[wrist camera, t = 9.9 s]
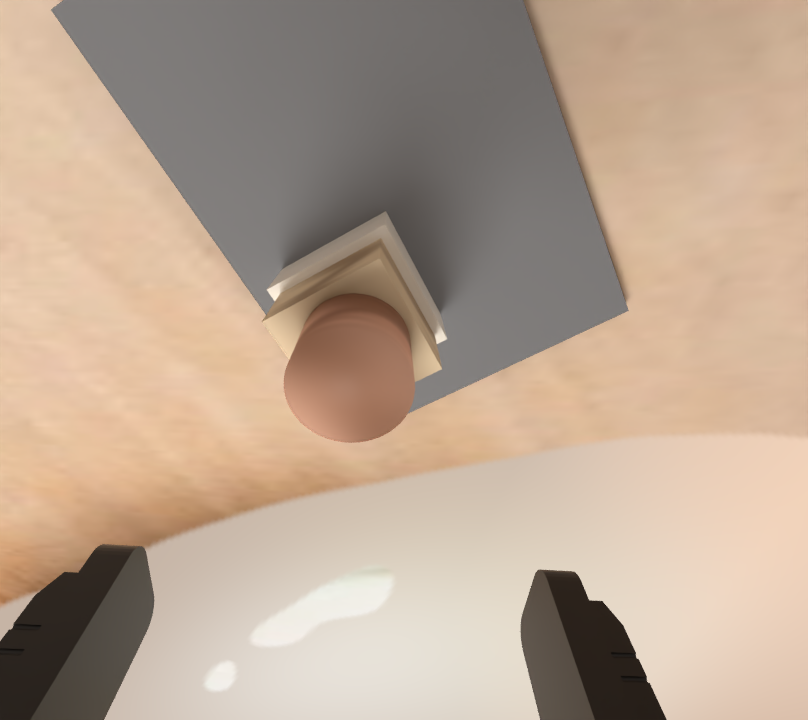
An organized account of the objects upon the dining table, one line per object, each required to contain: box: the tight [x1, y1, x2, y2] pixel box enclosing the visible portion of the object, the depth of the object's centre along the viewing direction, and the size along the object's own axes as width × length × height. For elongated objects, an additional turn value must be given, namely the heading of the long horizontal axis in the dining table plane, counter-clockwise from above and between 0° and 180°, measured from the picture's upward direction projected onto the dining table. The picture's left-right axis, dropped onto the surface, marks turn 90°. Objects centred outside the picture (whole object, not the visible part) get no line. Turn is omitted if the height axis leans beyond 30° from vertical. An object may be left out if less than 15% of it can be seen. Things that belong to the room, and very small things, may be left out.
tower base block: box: [267, 211, 447, 344], centre depth 27 cm, size 7×7×4 cm
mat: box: [51, 0, 629, 414], centre depth 27 cm, size 20×28×1 cm
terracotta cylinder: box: [284, 293, 415, 443], centre depth 20 cm, size 5×5×4 cm
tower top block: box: [262, 238, 442, 382], centre depth 24 cm, size 6×6×4 cm
